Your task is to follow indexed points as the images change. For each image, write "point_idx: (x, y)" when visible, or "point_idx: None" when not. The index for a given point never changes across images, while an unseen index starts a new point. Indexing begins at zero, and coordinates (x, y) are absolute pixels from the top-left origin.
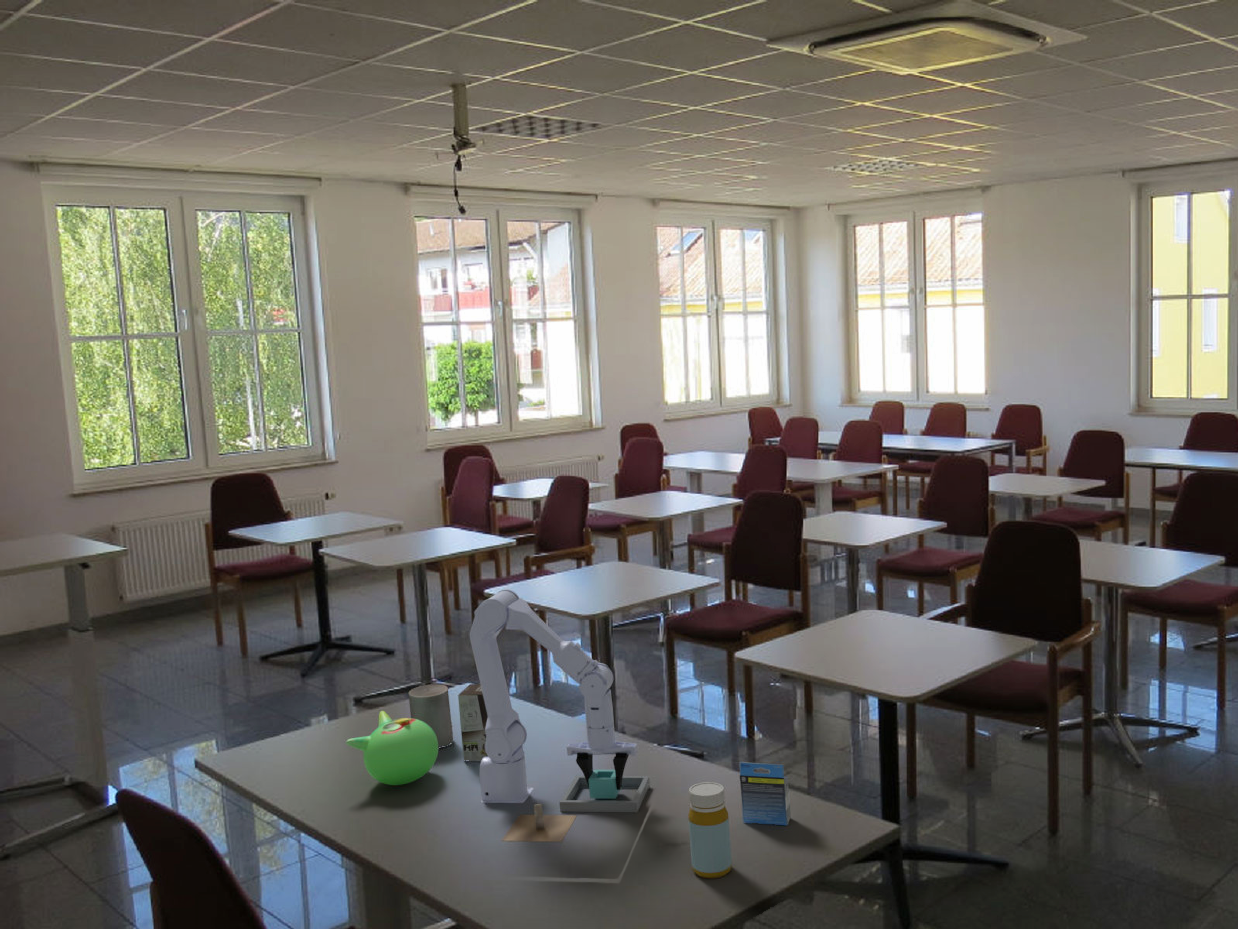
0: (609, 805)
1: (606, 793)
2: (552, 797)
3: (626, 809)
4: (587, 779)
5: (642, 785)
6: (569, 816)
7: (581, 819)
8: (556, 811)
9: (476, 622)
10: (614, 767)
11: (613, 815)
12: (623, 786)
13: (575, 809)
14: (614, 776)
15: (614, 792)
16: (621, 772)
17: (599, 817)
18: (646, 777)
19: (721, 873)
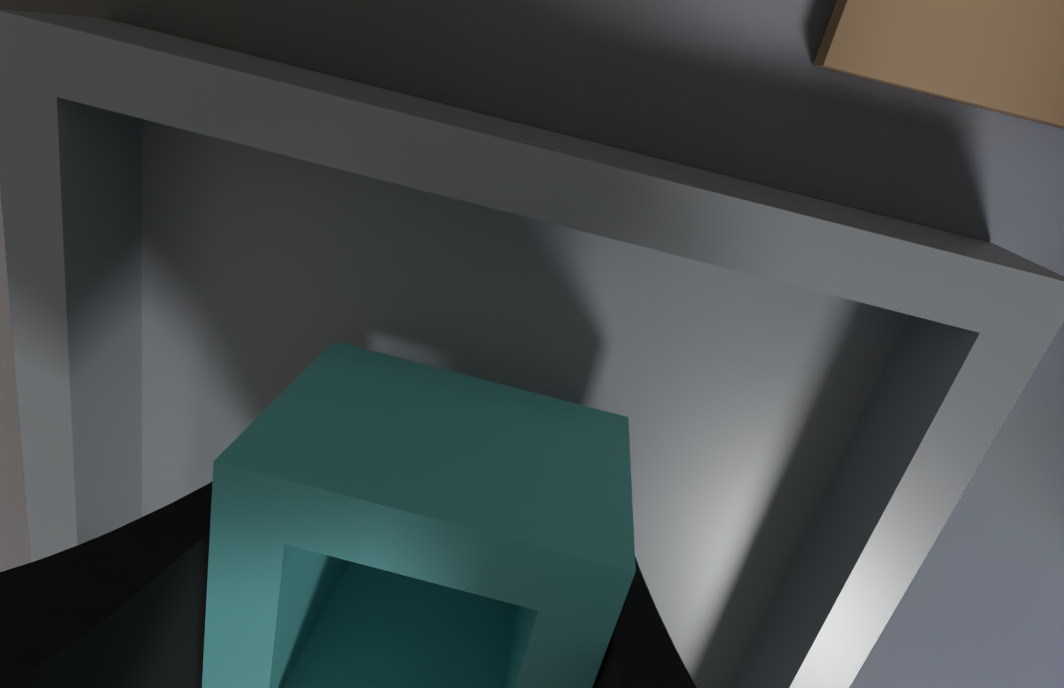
0: (378, 102)
1: (417, 392)
2: (980, 648)
3: (186, 44)
4: (647, 628)
5: (50, 514)
6: (927, 49)
7: (760, 28)
8: None
9: None
10: (65, 644)
11: (376, 72)
12: None
13: (827, 207)
14: (228, 574)
15: (312, 375)
16: (39, 561)
17: (537, 46)
18: None
19: None
